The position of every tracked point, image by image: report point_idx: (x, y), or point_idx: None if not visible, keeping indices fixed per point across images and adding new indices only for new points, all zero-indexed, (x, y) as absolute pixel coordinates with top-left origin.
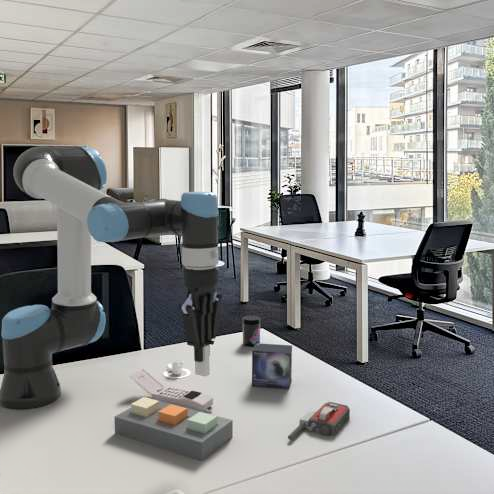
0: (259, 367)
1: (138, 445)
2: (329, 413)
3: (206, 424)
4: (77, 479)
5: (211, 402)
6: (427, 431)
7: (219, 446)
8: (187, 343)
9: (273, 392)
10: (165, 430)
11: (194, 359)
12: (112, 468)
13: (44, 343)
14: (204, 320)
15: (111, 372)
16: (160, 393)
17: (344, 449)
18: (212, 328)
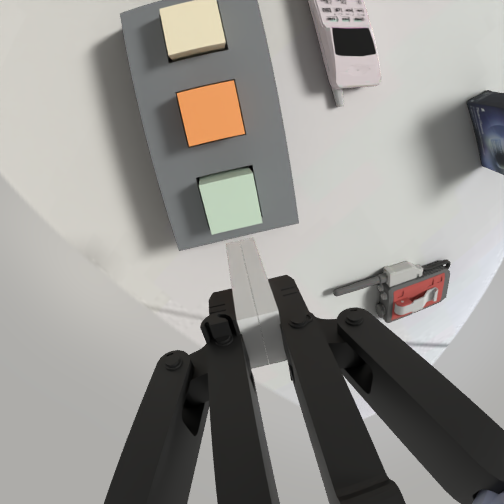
0: (497, 122)
1: (129, 99)
2: (407, 313)
3: (217, 232)
4: (6, 144)
5: (367, 86)
6: (425, 359)
7: None
8: (158, 365)
9: (465, 150)
10: (154, 152)
11: (209, 299)
12: (52, 147)
13: None
14: (319, 464)
15: None
16: None
17: None
18: (365, 393)
